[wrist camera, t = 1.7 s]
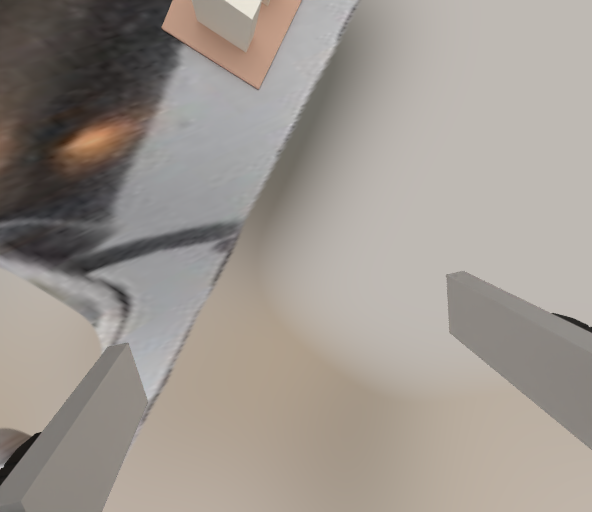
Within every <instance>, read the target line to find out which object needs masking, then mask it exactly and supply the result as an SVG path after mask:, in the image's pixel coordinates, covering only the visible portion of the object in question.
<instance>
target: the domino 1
mask: <svg viewBox="0 0 592 512" xmlns="http://www.w3.org/2000/svg"><path fill="white" fill-rule="evenodd" d="M192 3H193V7H194V11H195V14H196V18H197V21H198V22H200V23H201V24H203V25H204V26H206V27H208V28H209V29H211V30H212V31H214V32H215V33H217V34H218V35H220V36H221V37H223V38H224V39H226V40H227V41H229V42H230V43H232V44H233V45H235V46H236V47H238V48H240V49H241V50H243V51H244V52H247V50H248V47H249V45H250V43H251V41H252V39H253V37H254V33H255V28H256V24H257V20H258V16H259V11H260V7H261V3H262V0H192Z"/></svg>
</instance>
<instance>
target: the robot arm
mask: <svg viewBox="0 0 592 512" xmlns="http://www.w3.org/2000/svg"><path fill="white" fill-rule="evenodd" d="M446 277H447V295H448V313H449V330H450V331H449V332H450V334H452V335H453V336H454V337H455V338H456V339H458V340H459V341H460V342H461V343H462V344H464V345H465V346H466V347H467V348H469V349H470V350H471V351H472V352H473V353H475V354H476V355H477V356H478V357H479V358H481V359H482V360H483V361H484V362H486V363H487V364H488V365H489V366H490V367H492V368H493V369H494V370H495V371H496V372H498V373H499V374H500V375H501V376H503V377H504V378H505V379H506V380H508V381H509V382H510V383H511V384H512V385H513V386H515V387H516V388H517V389H518V390H520V391H521V392H522V393H523V394H524V395H526V396H527V397H528V398H529V399H531V400H532V401H533V402H534V403H535V404H536V405H538V406H539V407H540V408H541V409H543V410H544V411H545V412H546V413H548V414H549V415H550V416H551V417H552V418H554V419H555V420H556V421H557V422H558V423H560V424H561V425H562V426H564V428H566V429H567V430H568V431H569V432H571V433H572V434H573V435H574V436H575V437H577V438H578V439H579V440H580V441H581V442H583V443H584V444H585V445H587V446H588V447H589V448H590V449H591V450H592V327H589V326H588V325H586V324H584V323H582V322H580V321H578V320H576V319H573V318H570V317H567V316H563V315H559V314H555V313H549V312H547V311H545V310H543V309H541V308H539V307H537V306H535V305H533V304H531V303H529V302H527V301H524V300H522V299H520V298H518V297H516V296H514V295H512V294H510V293H508V292H506V291H504V290H502V289H500V288H498V287H496V286H494V285H492V284H490V283H487V282H485V281H483V280H481V279H479V278H477V277H475V276H473V275H471V274H469V273H467V272H465V271H461V272H456V273H452V274H447V275H446ZM147 404H148V400H147V397H146V394H145V391H144V388H143V385H142V382H141V379H140V376H139V373H138V370H137V367H136V364H135V361H134V358H133V355H132V352H131V350H130V347H129V344H128V343H124V344H119V345H115V346H110V347H107V349H106V350H105V351H104V353H103V354H102V355H101V357H100V358H99V359H98V360H97V362H96V363H95V364H94V366H93V367H92V368H91V369H90V371H89V372H88V373H87V375H86V376H85V377H84V378H83V380H82V381H81V383H80V384H79V385H78V386H77V388H76V389H75V390H74V392H73V393H72V394H71V395H70V397H69V398H68V399H67V400H66V402H65V403H64V404H63V406H62V407H61V408H60V410H59V411H58V412H57V413H56V415H55V416H54V417H53V419H52V420H51V421H50V422H49V424H48V425H47V426H46V428H45V429H44V430H43V431H42V432H40V433H36V434H34V435H33V436H32V437H31V438H30V439H28V440H27V441H26V442H25V443H24V444H22V445H21V446H20V447H19V448H18V449H17V450H16V451H15V452H14V453H13V455H12V456H11V457H10V458H9V459H8V461H7V462H6V463H5V464H4V468H1V469H0V512H102V510H103V508H104V506H105V503H106V501H107V498H108V496H109V494H110V491H111V489H112V487H113V484H114V482H115V480H116V477H117V475H118V472H119V470H120V468H121V465H122V463H123V461H124V458H125V456H126V453H127V451H128V449H129V446H130V444H131V442H132V439H133V437H134V434H135V432H136V430H137V427H138V425H139V423H140V420H141V418H142V416H143V413H144V411H145V408H146V406H147Z"/></svg>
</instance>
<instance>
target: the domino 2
mask: <svg viewBox="0 0 592 512" xmlns="http://www.w3.org/2000/svg"><path fill="white" fill-rule="evenodd" d="M262 3H263V4H265V5H266V6H268V5H269V3H270V0H262Z"/></svg>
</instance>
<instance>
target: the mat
mask: <svg viewBox="0 0 592 512" xmlns="http://www.w3.org/2000/svg"><path fill="white" fill-rule="evenodd" d="M301 1H302V0H270V3H269V5H268V6H266V5H265V4H263V3H261V7H260V11H259V16H258V20H257V24H256V28H255V33H254V37H253V39H252V41H251V43H250V45H249V47H248V50H247V52H244V51H243V50H241V49H240V48H238V47H236V46H235V45H233V44H232V43H230V42H229V41H227V40H226V39H224V38H223V37H221V36H220V35H218V34H217V33H215V32H214V31H212V30H211V29H209V28H208V27H206V26H204V25H203V24H201V23H200V22H198V21H197V18H196V14H195V11H194V7H193V3H192V0H173V1H172V3H171V6H170V8H169V11H168V13H167V16H166V18H165V21H164V23H163V25H162V29H163V30H164V31H166V32H167V33H169V34H170V35H172V36H173V37H175V38H177V39H178V40H180V41H181V42H183V43H185V44H186V45H188V46H189V47H191V48H193V49H194V50H196V51H197V52H199V53H201V54H202V55H204V56H205V57H207V58H209V59H210V60H212V61H213V62H215V63H217V64H218V65H220V66H221V67H223V68H225V69H226V70H228V71H229V72H231V73H233V74H234V75H236V76H237V77H239V78H240V79H242V80H244V81H245V82H247V83H248V84H250V85H252V86H253V87H255V88H256V89H259V88H260V85H261V83H262V81H263V79H264V77H265V75H266V73H267V71H268V69H269V67H270V65H271V63H272V61H273V59H274V57H275V55H276V52H277V50H278V48H279V46H280V44H281V42H282V40H283V38H284V36H285V34H286V32H287V30H288V28H289V26H290V24H291V21H292V19H293V17H294V15H295V13H296V11H297V9H298V7H299V5H300V3H301Z"/></svg>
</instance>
